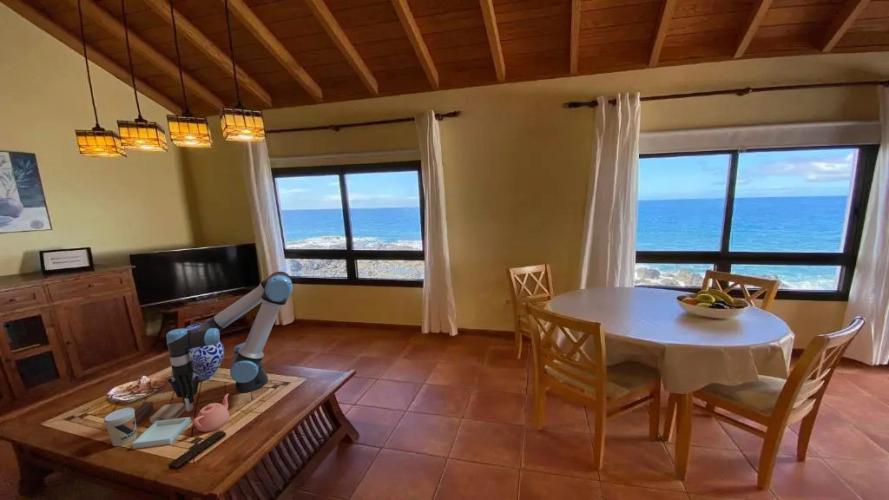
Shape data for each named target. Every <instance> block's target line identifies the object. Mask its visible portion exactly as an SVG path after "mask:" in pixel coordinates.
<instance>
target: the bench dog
mask: <svg viewBox="0 0 889 500" xmlns="http://www.w3.org/2000/svg"><path fill="white" fill-rule="evenodd" d="M134 410H135V412H134V413H135V420H136V426H137V425H140V424H142V422H143V421H145V420H146V419H147V418H148V417H150V415H151V414H152V413H153V412H154V411H155V408H154V404H153V401H145V402H143V403H142V404H141V405H139V407H137V408H136V409H134Z"/></svg>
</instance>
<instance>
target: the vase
mask: <svg viewBox="0 0 889 500" xmlns="http://www.w3.org/2000/svg"><path fill="white" fill-rule="evenodd" d="M203 323H204V322H199V323H195V324H191V325H188V326H185V328H184V329H186V330H187V332H195V331H199V329H200V328H201V326H202V324H203ZM190 354H191V361H192V365H193V371H194V373H195V374H197V375H198V374H200V375H201V376H200V377H199V381H198V382H203V381H206V380H209V379H211V378H213V377H214V376H216V375H215V374H216V372H217V371H218V369H219V367H220V366H221V363H222V362H223V361H224V360H223V359H224V357H225V347H224V344H223V343H222V342H221V340H220V341H219V343H217V344H214V345H211V346H204V347H198V348H192V349H190Z"/></svg>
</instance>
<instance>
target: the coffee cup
mask: <svg viewBox="0 0 889 500" xmlns="http://www.w3.org/2000/svg"><path fill="white" fill-rule="evenodd" d="M135 410H136V409H134V408H133V407H123V408H120V409H117V410H115V411H113V412H111V413H108V414H107V415H106V416H105V417H104V419H103V423H104V424H105V427H106V430H107V433H108V436H109V438H110V441H111V444H112V446H113V447H120V446H123V445H126V444H129V443H131V442H132V441H133V440H134V441H135V440H136V439H137V438H138V432H137V431H138V430H137V425H136V420H135V413H134V412H135Z"/></svg>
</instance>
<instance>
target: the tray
mask: <svg viewBox="0 0 889 500" xmlns="http://www.w3.org/2000/svg"><path fill="white" fill-rule="evenodd" d="M190 423H192V420H191V417H190V416H188V417H178V418H177V419H169V420H161V421H156V422H155V423H151V425H150V426H149V427H148V428H147V429H146V430H145V431H144V432H143V433H141V434H140V435H139V436H137V437H136V438H135V439H134V441H133V442H132V443H131V445H132V448H133V449H134V450H135V449H137V450H138V449H143V448H144V447H145V448H150V447H152V448H153V447H159V446H165V445H172V443H174V441H175V440H177V438H178V437H179V436H180V435H181V434H182V433H183V431H185V430H186V429H187V427H188V426H189V425H190ZM133 449H132V450H133Z"/></svg>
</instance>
